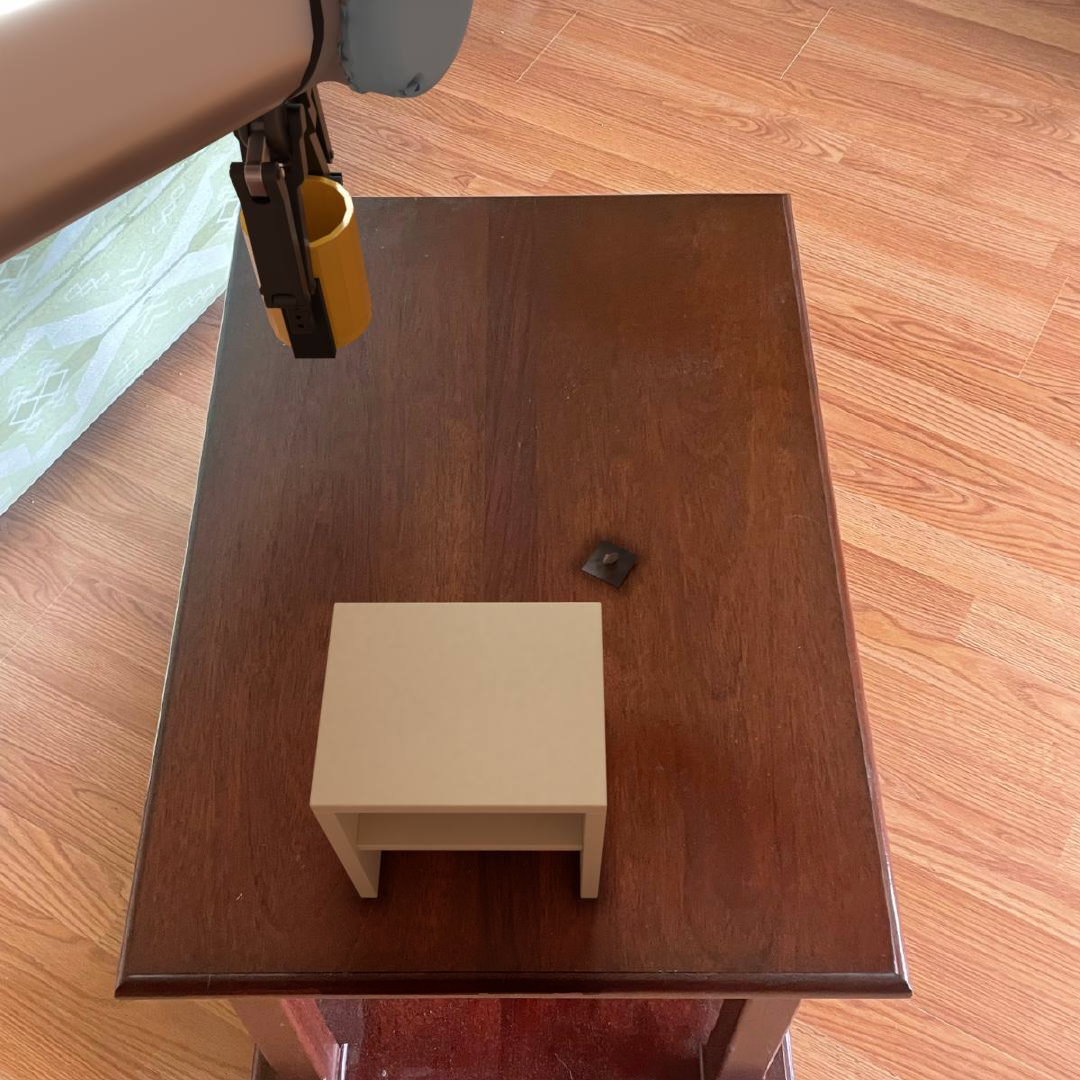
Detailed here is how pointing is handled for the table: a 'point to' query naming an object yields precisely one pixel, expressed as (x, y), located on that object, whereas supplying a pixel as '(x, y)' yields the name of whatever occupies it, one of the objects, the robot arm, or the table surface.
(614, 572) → the dark square tile
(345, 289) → the cup
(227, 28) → the robot arm
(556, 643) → the shelf
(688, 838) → the table surface
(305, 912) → the table surface
